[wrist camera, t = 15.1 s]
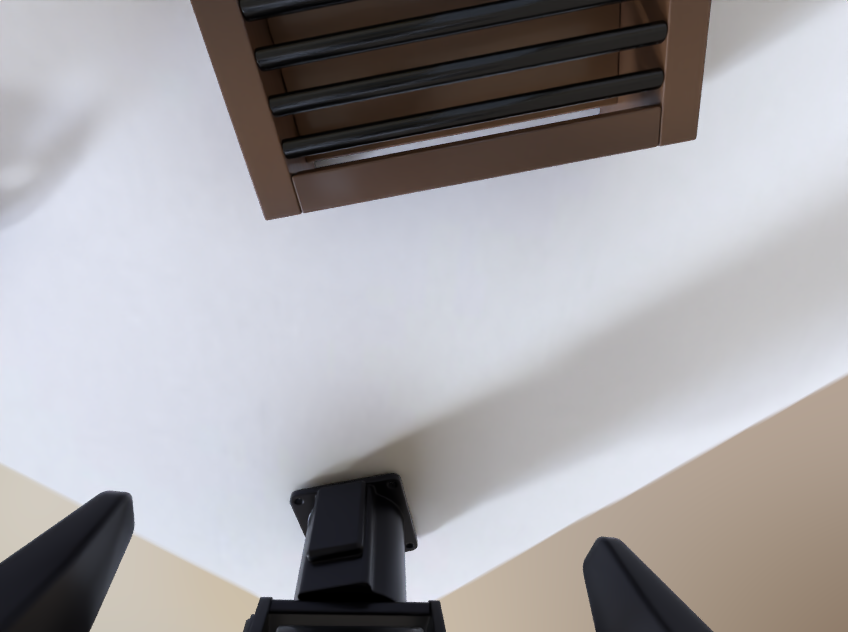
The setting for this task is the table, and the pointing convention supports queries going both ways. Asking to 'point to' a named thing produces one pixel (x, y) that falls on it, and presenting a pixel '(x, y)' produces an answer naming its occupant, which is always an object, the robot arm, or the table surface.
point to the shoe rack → (445, 88)
